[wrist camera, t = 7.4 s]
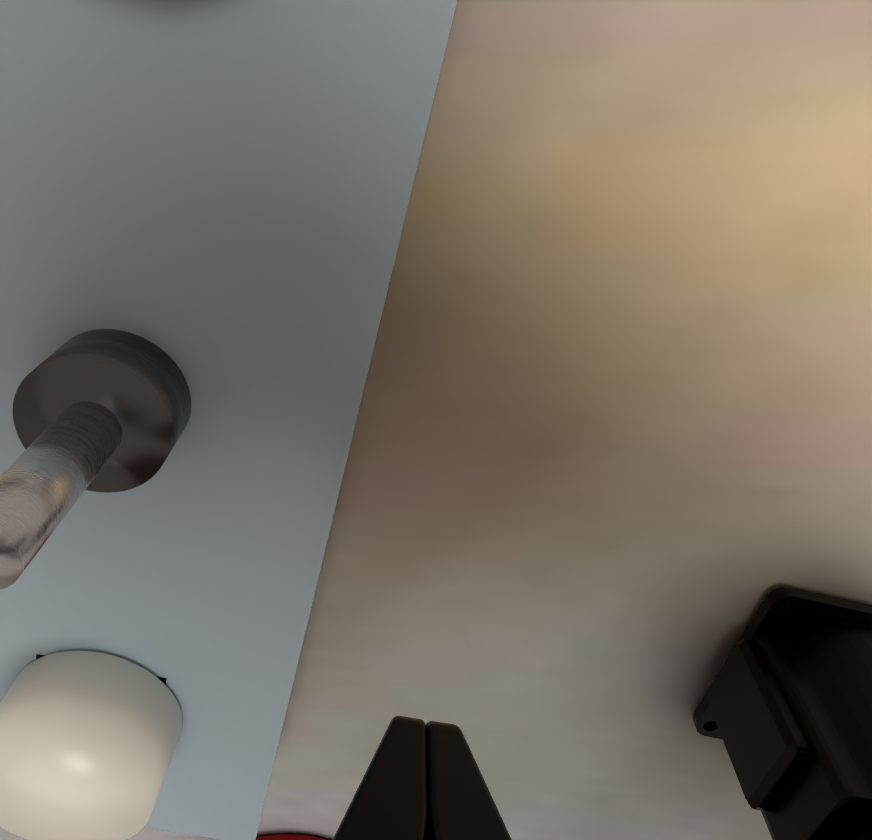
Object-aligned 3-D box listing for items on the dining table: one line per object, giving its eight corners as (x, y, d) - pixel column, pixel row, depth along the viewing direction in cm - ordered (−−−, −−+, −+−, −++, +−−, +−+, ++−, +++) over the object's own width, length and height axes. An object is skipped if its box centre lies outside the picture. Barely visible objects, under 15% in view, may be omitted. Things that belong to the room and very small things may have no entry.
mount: (546, -381, 13) (584, -527, 10) (278, 737, 27) (254, 845, 23) (-46, -598, 12) (-251, -856, 8) (-8, 685, 26) (-79, 790, 22)
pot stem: (198, 348, 15) (86, 500, 11) (184, 467, 17) (79, 649, 12) (49, 313, 15) (-137, 452, 10) (47, 437, 16) (-118, 612, 12)
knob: (218, 597, 22) (160, 747, 18) (201, 701, 24) (145, 861, 20) (59, 565, 22) (-44, 712, 17) (56, 675, 24) (-36, 832, 19)
